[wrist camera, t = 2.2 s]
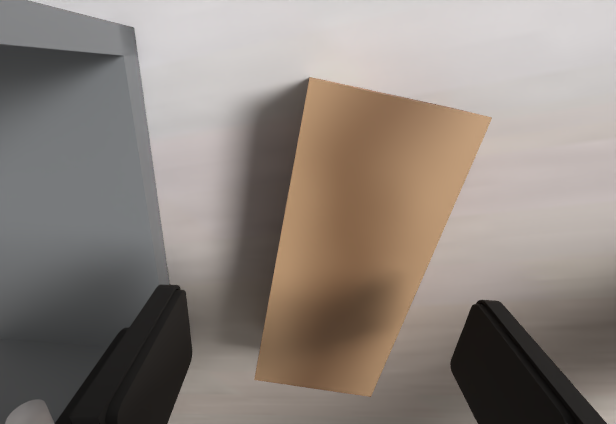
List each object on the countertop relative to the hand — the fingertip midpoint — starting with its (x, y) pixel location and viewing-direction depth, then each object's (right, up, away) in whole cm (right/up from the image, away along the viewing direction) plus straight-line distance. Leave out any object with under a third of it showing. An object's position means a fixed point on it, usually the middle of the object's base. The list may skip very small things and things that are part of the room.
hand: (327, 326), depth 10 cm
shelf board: (+1, +3, +6) cm, 6 cm away
